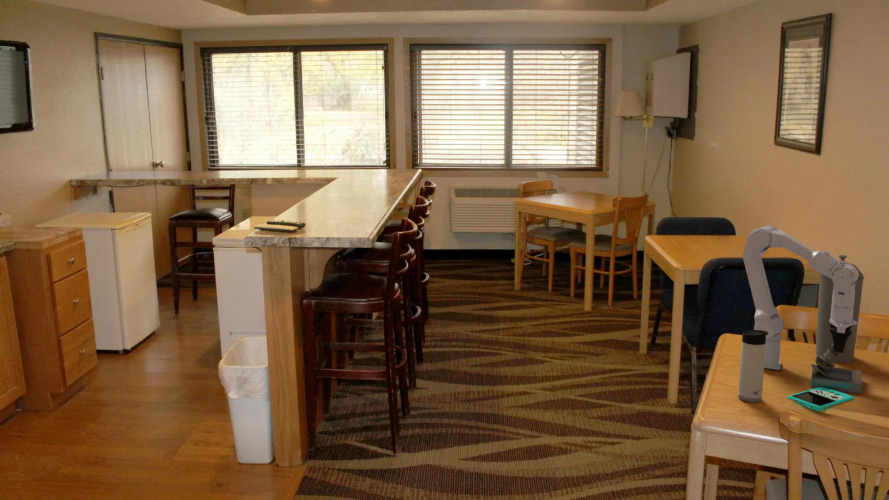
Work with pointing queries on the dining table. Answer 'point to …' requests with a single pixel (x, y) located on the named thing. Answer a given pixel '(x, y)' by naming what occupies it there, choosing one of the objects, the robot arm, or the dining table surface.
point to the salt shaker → (826, 360)
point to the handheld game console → (820, 398)
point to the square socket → (838, 380)
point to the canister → (824, 317)
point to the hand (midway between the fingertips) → (838, 350)
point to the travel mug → (752, 365)
